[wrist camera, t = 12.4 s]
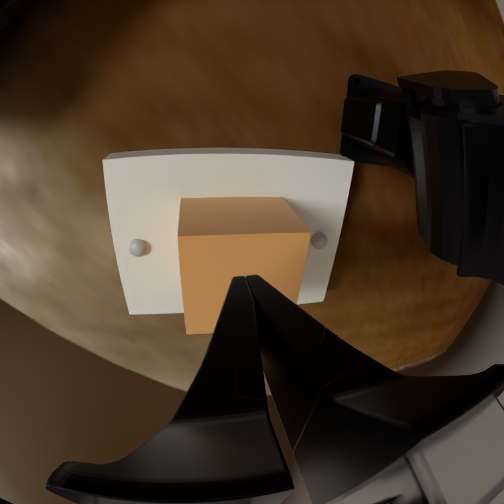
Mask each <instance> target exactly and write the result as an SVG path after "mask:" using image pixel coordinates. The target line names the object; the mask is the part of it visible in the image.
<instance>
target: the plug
mask: <svg viewBox="0 0 504 504" xmlns="http://www.w3.org/2000/svg"><path fill="white" fill-rule="evenodd" d="M310 234H311V232H310V231H309V230H308V228H307V227H306V226H305V224H304V223H303V222H302V221H301V219H300V218H299V217H298V216H297V215H296V213H295V212H294V211H293V210H292V208H291V207H290V206H289V205H288V203H287V202H286V201H285V200H284V199H283V197H206V198H181V200H180V211H179V223H178V236H177V237H178V252H179V266H180V277H181V288H182V299H183V308H184V317H185V326H186V334H204V333H213V331H214V328H215V325H216V322H217V320H218V317H219V314H220V311H221V308H222V305H223V302H224V300H225V297H226V294H227V291H228V288H229V285H230V282H231V280H232V278H233V277H234V276H245V277H246V276H247V275H256V274H257V275H259V276H261V277H262V278H263V279H264V280H266V281H267V282H268V283H270V284H271V285H272V286H273V287H275V288H276V289H277V290H278V291H280V292H281V293H282V294H284V295H285V296H286V297H287V298H289V299H290V300H291V301H293V302H294V303H295V304H296V305H297V300H298V296H299V291H300V286H301V281H302V276H303V271H304V266H305V261H306V256H307V251H308V245H309V240H310Z"/></svg>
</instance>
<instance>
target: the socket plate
mask: <svg viewBox="0 0 504 504" xmlns="http://www.w3.org/2000/svg"><path fill="white" fill-rule="evenodd" d="M353 167H354V161H353V160H351V159H349V158H347V157H344V156H341V155H339V154H330V153H320V152H309V151H296V150H280V149H258V148H179V149H158V150H142V151H129V152H118V153H111V154H110V155H108V156H107V157H106V158H105V159H103V168H104V179H105V188H106V197H107V204H108V212H109V218H110V225H111V231H112V237H113V243H114V248H115V253H116V258H117V263H118V268H119V273H120V277H121V282H122V286H123V290H124V294H125V298H126V302H127V306H128V310H129V314H164V313H184V308H183V299H182V288H181V277H180V266H179V252H178V237H177V236H178V223H179V211H180V200H181V198H206V197H283V199H284V200H285V201H286V202H287V203H288V205H289V206H290V207H291V208H292V210H293V211H294V212H295V213H296V215H297V216H298V217H299V218H300V219H301V221H302V222H303V223H304V224H305V226H306V227H307V228H308V230H309V231H310V232H311V234H310V240H309V245H308V251H307V256H306V261H305V266H304V271H303V276H302V281H301V286H300V291H299V296H298V300H297V304H304V303H313V302H322V301H323V300H324V297H325V293H326V289H327V286H328V282H329V278H330V274H331V270H332V266H333V262H334V258H335V254H336V250H337V246H338V241H339V237H340V233H341V228H342V224H343V219H344V214H345V209H346V205H347V200H348V194H349V189H350V184H351V178H352V173H353Z"/></svg>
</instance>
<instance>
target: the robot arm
mask: <svg viewBox="0 0 504 504" xmlns="http://www.w3.org/2000/svg"><path fill="white" fill-rule="evenodd" d="M355 78H356V79H357V80H358V82H357V84H356V83H355V81H354V80H355ZM397 80H398V84H399V87H397V86H394V85H391V84H388V83H385V82H382V81H379V80H376V79H372V78H369V77H365V76H362V75H358V74H353V75H351V76H350V77H349V80H348V91H347V98H346V99H345V102H344V111H343V119H342V127H341V132H342V140H341V147H340V155H341V156H344V157H347V158H349V159H351V160H353V161H358V162H366V163H374V164H381V165H388V166H391V167H393V168H395V169H397V170H399V171H401V172H403V173H405V174H407V175H409V176H411V177H413V178H414V180H415V192H416V212H417V225H418V230H419V234H420V235H421V236H422V238H423V239H424V240H425V242H426V243H427V244H428V245H429V251H430V252H431V253H433V254H434V255H436V256H437V257H438V258H440V259H442V260H444V261H447V262H449V263H451V264H454V265H458V268H457V275H458V276H460V277H481V278H486V279H491V280H493V281H496V282H498V283H500V284H503V285H504V95H499V89H498V86H497V85H495V84H494V83H492V82H491V81H489V80H488V79H486V78H485V77H483V76H482V75H480V74H478V73H475V72H465V71H452V70H446V71H436V72H428V73H420V74H413V75H407V76H401V77H397ZM400 87H401V88H400ZM347 150H348V151H349V153H348V155H347V156H346V155H345V153H346V151H347ZM263 371H264V374H265V377H266V380H267V383H268V386H269V388H270V391H271V394H272V397H273V400H274V403H275V405H276V408H277V411H278V414H279V416H280V419H281V422H282V425H283V427H284V430H285V433H286V435H287V438H288V441H289V444H290V446H291V449H292V451H293V454H294V457H295V460H296V462H297V465H298V468H299V470H300V473H301V476H302V478H303V481H304V483H305V486H306V488H307V491H308V493H309V496H310V498H311V501H312V503H313V504H332V503H335V502H338V501H341V500H344V501H345V504H504V407H503V405H502V404H501V402H500V401H499V399H498V396H499V395H500V394H501V393H502V392H503V391H504V364H494V365H492V366H491V367H490V368H488V369H487V370H485V371H483V372H480V373H477V374H472V375H460V376H406V375H403V374H399V373H397V372H395V371H393V370H391V369H389V368H387V367H386V366H384V365H382V364H381V363H379V362H377V361H376V360H374V359H372V358H371V357H369V356H367V355H365V354H364V353H362V352H361V351H359V350H357V349H356V348H354V347H353V346H351V345H350V344H348V343H346V342H345V341H344V340H342V339H341V338H339V337H338V336H337V335H335V334H334V333H333V332H331V331H330V330H329V329H327V328H325V326H323V325H322V324H321V323H320V322H318V321H317V320H316V319H314V318H313V317H312V316H311V315H309V314H308V313H307V312H305V311H304V310H303V309H302V308H300V307H299V306H298V305H296V304H295V303H294V302H293V301H291V300H290V299H289V298H287V297H286V296H285V295H284V294H282V293H281V292H280V291H278V290H277V289H276V288H275V287H273V286H272V285H271V284H270V283H268V282H267V281H266V280H264V279H263V278H262V277H261V276H259V275H257V274H256V275H247V276H246V277H245V276H234V277H233V278H232V280H231V282H230V285H229V288H228V291H227V294H226V297H225V300H224V302H223V305H222V308H221V311H220V314H219V317H218V320H217V322H216V325H215V328H214V331H213V334H212V337H211V340H210V343H209V345H208V348H207V351H206V354H205V356H204V359H203V361H202V364H201V366H200V368H199V370H198V372H197V374H196V376H195V378H194V380H193V382H192V384H191V386H190V388H189V389H188V391H187V393H186V395H185V397H184V399H183V400H182V402H181V404H180V406H179V408H178V410H177V411H176V413H175V415H174V416H173V418H172V419H171V421H170V422H169V423H168V424H167V426H165V428H163V429H162V430H161V431H159V432H158V433H157V434H155V435H154V436H153V437H151V438H150V439H149V440H148V441H146V442H145V443H143V444H142V445H140V446H139V447H138V448H136V449H135V450H133V451H132V452H131V453H129V454H128V455H126V456H125V457H123V458H121V459H120V460H117V461H115V462H112V463H106V464H93V463H86V462H79V461H66V462H63V463H62V464H61V465H60V466H59V467H58V468H57V469H55V470H54V471H53V472H52V474H51V475H50V476H49V478H48V480H47V482H46V485H45V487H46V488H47V490H49V491H50V492H52V493H54V494H57V495H59V496H61V497H63V498H66V499H68V500H70V501H73V502H75V503H78V504H280V503H281V502H282V501H283V500H284V499H285V498H286V497H287V496H288V495H289V494H290V493H291V491H293V489H294V485H293V480H292V477H291V475H290V472H289V469H288V467H287V464H286V461H285V459H284V456H283V453H282V451H281V448H280V445H279V442H278V440H277V437H276V434H275V432H274V429H273V426H272V423H271V421H270V416H269V411H268V405H267V397H266V389H265V381H264V374H263ZM0 504H12V503H10V502H8V501H6V500H4V499H1V498H0Z"/></svg>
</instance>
